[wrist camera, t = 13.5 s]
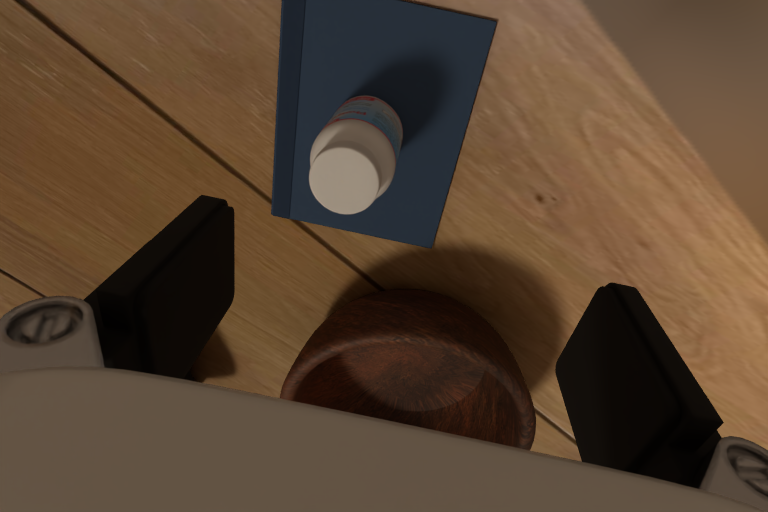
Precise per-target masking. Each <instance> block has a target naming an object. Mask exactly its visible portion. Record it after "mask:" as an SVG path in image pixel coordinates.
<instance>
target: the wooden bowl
mask: <svg viewBox="0 0 768 512" xmlns="http://www.w3.org/2000/svg"><path fill="white" fill-rule="evenodd" d="M280 399H285V400H290V401H295V402H300V403H305V404H310V405H315V406H319V407H324V408H329V409H334V410H339V411H344V412H349V413H354V414H359V415H363V416H368V417H373V418H378V419H383V420H387V421H392V422H397V423H402V424H407V425H411V426H416V427H421V428H426V429H430V430H435V431H440V432H445V433H449V434H454V435H459V436H464V437H468V438H473V439H478V440H483V441H488V442H492V443H497V444H501V445H506V446H511V447H515V448H520V449H525V450H529V451H530V449H531V446H532V444H533V441H534V436H535V429H536V416H535V409H534V406H533V402H532V399H531V396H530V393H529V390H528V388H527V385H526V383H525V381H524V378H523V376H522V373H521V371H520V369H519V367H518V364H517V362H516V360H515V358H514V357H513V355H512V353H511V351H510V350H509V348H508V346H507V345H506V343H505V342H504V340H503V339H502V338H501V337H500V335H499V334H498V333H497V331H496V330H495V329H494V328H493V327H492V326H491V325H490V324H489V323H488V322H487V321H486V320H485V319H483V318H482V317H481V316H480V315H479V314H478V313H476V312H475V311H473V310H472V309H470V308H469V307H467V306H465V305H463V304H462V303H460V302H458V301H456V300H453V299H451V298H449V297H446V296H443V295H440V294H437V293H433V292H428V291H423V290H414V289H395V290H387V291H381V292H377V293H373V294H370V295H367V296H364V297H361V298H359V299H356V300H354V301H352V302H350V303H348V304H347V305H345V306H343V307H342V308H340V309H339V310H338V311H336V312H335V313H333V314H332V315H331V316H330V317H328V318H327V319H326V320H325V321H324V322H323V323H322V324H321V325H320V326H319V327H318V328H317V330H316V331H315V332H314V333H313V334H312V336H311V337H310V338H309V340H308V341H307V343H306V344H305V346H304V347H303V349H302V350H301V352H300V353H299V355H298V357H297V359H296V360H295V362H294V364H293V365H292V367H291V369H290V371H289V373H288V375H287V377H286V379H285V381H284V384H283V387H282V390H281V394H280Z"/></svg>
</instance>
